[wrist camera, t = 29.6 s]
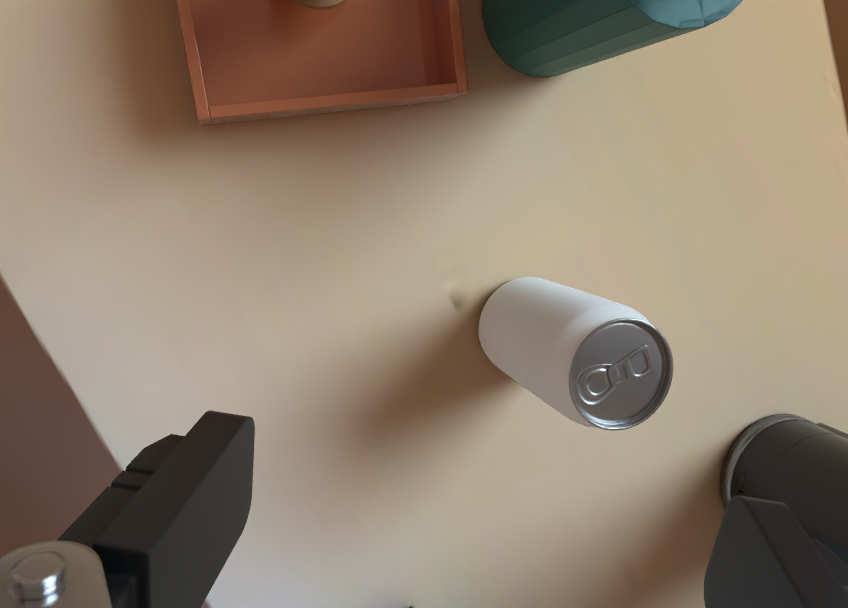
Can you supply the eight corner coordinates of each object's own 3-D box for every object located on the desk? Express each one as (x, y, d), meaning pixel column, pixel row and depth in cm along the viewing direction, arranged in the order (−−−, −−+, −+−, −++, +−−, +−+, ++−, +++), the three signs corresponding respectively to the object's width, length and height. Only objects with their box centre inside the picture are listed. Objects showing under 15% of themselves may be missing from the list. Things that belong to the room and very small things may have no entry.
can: (462, 299, 43) (544, 343, 31) (551, 259, 44) (661, 287, 33) (495, 389, 44) (584, 461, 33) (580, 348, 46) (695, 404, 34)
